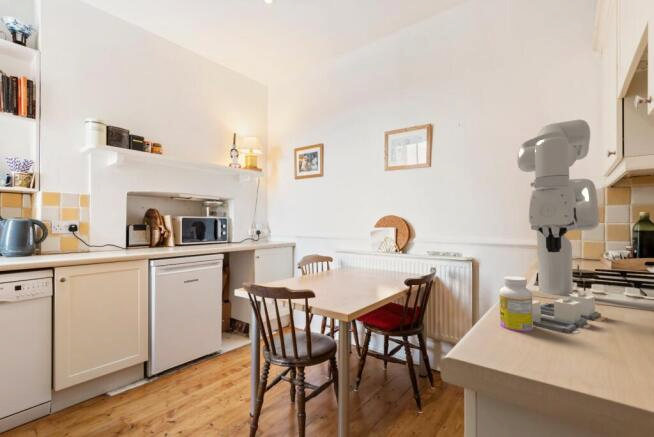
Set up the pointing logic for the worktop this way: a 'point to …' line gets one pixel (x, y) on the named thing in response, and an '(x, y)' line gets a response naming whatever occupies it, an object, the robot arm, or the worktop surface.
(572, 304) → the white block with ridge
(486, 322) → the worktop surface
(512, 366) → the worktop surface
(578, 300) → the white switch slider block
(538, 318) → the switch board
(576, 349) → the worktop surface
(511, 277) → the supplement bottle
